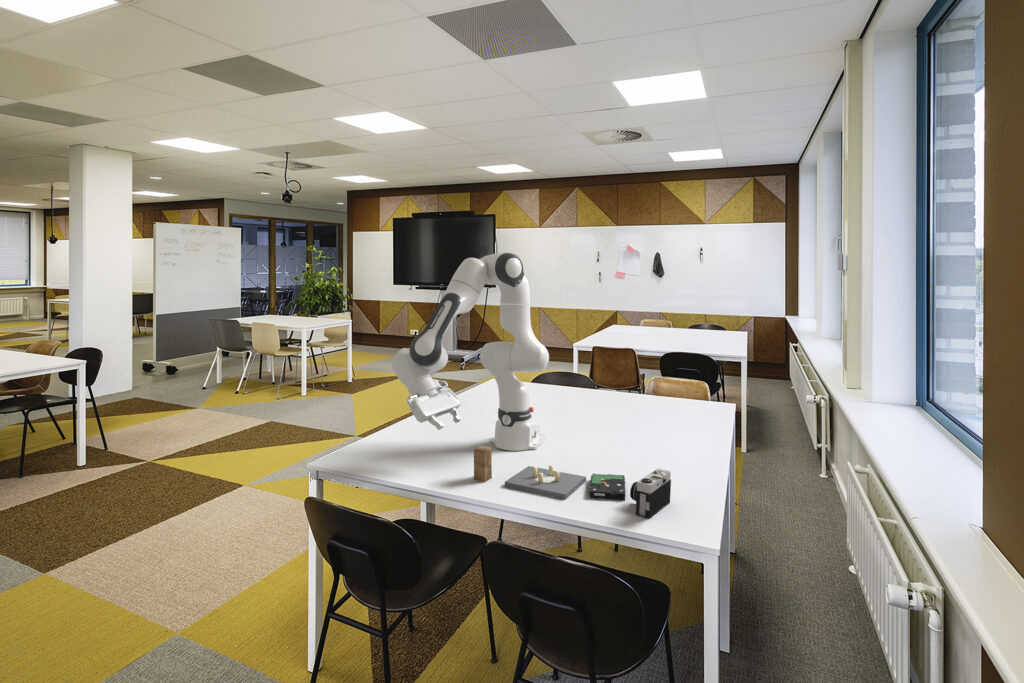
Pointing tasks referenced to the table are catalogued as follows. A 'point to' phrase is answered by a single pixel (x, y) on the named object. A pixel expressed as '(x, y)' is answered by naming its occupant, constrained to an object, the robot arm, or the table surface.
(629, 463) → the table surface
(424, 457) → the table surface
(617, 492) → the disk drive
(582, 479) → the standoff plate
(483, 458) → the walnut block
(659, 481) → the camera
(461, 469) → the table surface
